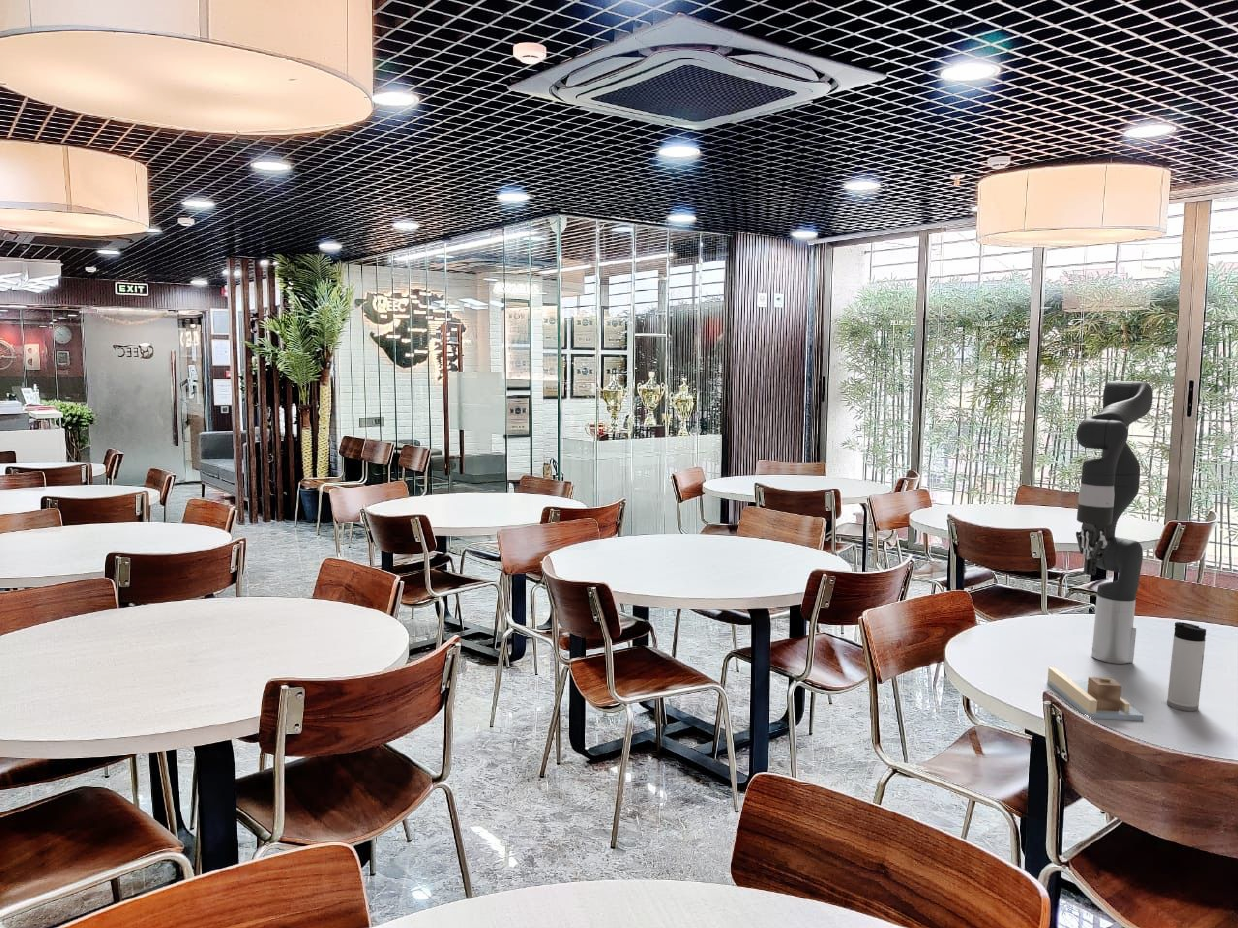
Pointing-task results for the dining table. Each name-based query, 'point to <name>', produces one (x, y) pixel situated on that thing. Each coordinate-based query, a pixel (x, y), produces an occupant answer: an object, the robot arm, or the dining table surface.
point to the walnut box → (1105, 693)
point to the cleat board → (1088, 698)
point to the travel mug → (1186, 667)
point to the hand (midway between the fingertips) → (1089, 574)
